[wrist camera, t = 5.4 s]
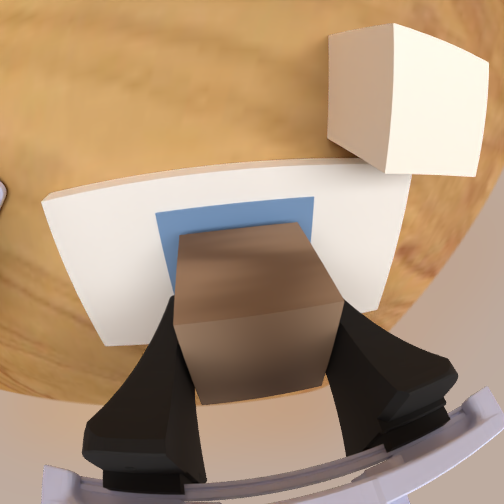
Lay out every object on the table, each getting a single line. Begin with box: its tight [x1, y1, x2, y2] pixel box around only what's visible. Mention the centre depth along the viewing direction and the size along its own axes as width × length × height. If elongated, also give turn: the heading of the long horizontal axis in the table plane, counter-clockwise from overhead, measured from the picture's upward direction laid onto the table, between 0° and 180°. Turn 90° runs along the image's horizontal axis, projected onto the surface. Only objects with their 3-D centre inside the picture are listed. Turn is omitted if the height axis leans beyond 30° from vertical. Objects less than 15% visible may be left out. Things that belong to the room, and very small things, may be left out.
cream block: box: [327, 23, 489, 177], centre depth 9 cm, size 5×5×5 cm
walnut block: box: [173, 222, 344, 405], centre depth 12 cm, size 5×5×5 cm
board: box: [41, 158, 412, 346], centre depth 15 cm, size 18×10×1 cm, turn 92°
